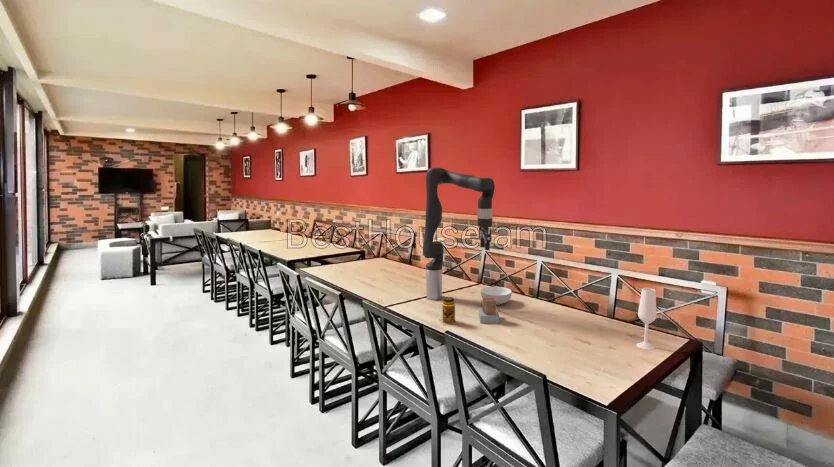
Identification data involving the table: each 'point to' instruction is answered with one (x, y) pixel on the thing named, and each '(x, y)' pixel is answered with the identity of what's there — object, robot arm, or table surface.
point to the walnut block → (489, 306)
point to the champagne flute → (647, 313)
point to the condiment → (448, 311)
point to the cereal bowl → (497, 294)
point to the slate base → (488, 317)
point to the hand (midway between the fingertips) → (484, 248)
